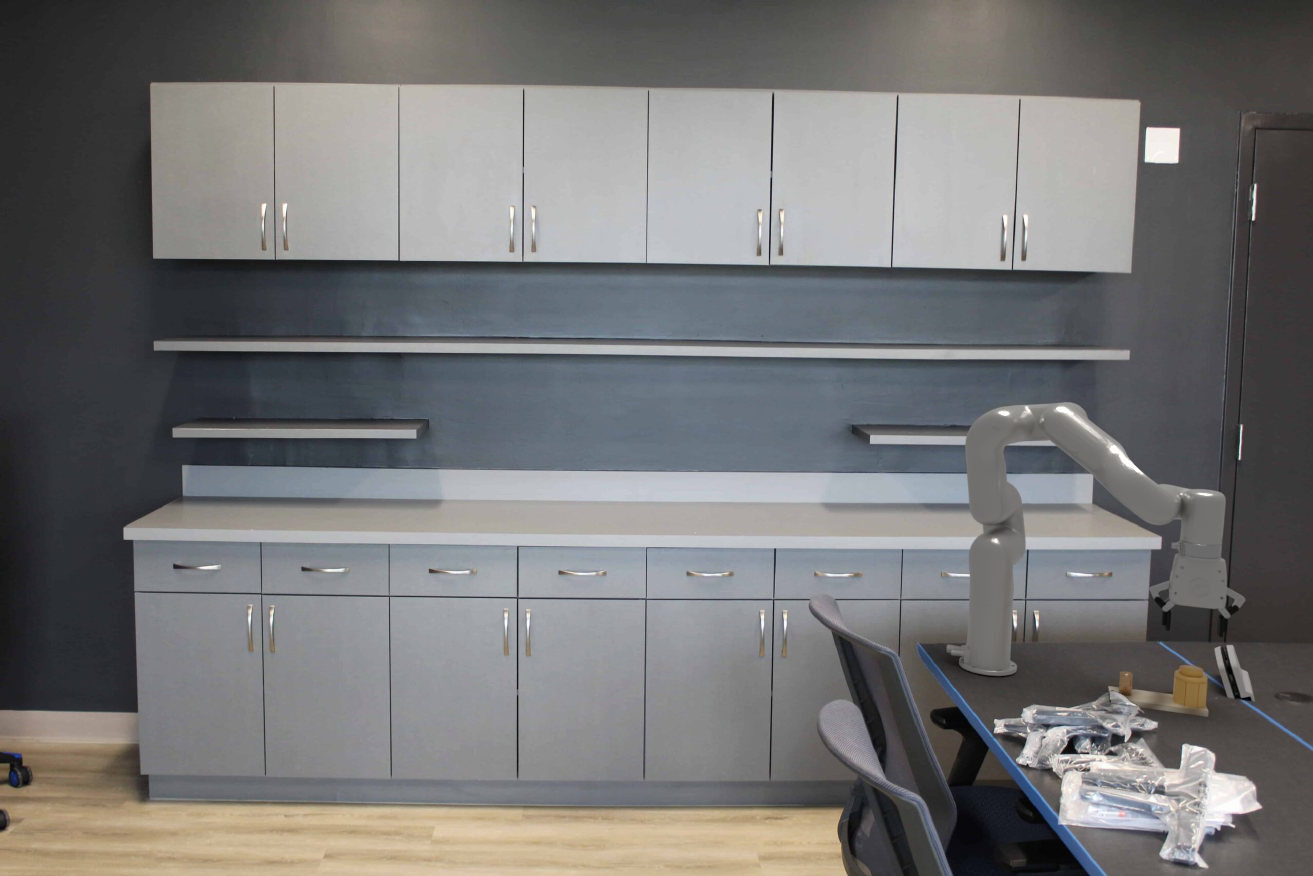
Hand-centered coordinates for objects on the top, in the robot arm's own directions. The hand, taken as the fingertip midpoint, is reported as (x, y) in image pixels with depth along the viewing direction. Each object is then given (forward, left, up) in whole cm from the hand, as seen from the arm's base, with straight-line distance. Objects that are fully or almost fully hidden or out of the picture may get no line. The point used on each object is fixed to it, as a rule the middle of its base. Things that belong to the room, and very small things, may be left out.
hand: (1193, 632), depth 204 cm
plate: (-6, 0, -16) cm, 17 cm away
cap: (0, 0, -15) cm, 15 cm away
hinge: (+11, +18, -16) cm, 26 cm away
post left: (-12, 0, -15) cm, 19 cm away
